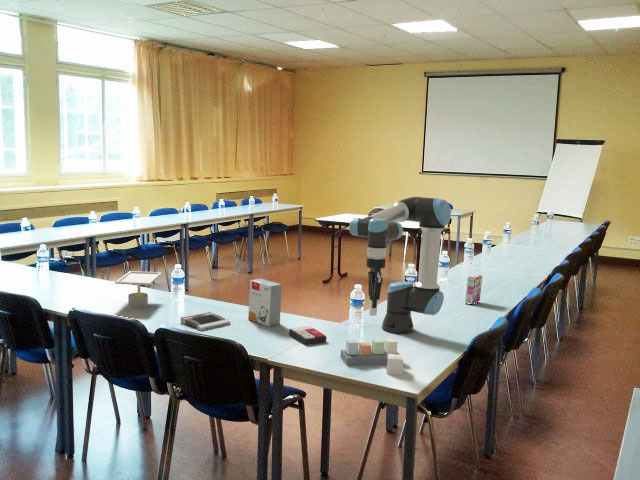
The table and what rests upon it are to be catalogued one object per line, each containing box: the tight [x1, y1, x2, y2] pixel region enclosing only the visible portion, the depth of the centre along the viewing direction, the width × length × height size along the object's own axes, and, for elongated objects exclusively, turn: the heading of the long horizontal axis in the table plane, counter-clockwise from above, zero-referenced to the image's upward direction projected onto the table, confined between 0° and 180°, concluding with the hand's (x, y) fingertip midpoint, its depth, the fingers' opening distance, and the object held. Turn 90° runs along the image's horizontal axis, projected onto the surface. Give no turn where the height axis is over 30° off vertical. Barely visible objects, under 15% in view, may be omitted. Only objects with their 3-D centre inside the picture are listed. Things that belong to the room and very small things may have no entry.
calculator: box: [288, 325, 327, 346], centre depth 270 cm, size 11×4×15 cm
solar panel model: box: [114, 270, 163, 309], centre depth 313 cm, size 28×17×15 cm, turn 2°
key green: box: [371, 338, 385, 354], centre depth 246 cm, size 4×4×5 cm
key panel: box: [340, 348, 401, 366], centre depth 246 cm, size 23×10×3 cm, turn 102°
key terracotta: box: [358, 342, 372, 355], centre depth 245 cm, size 4×4×5 cm
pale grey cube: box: [386, 354, 404, 376], centre depth 235 cm, size 6×6×6 cm
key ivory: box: [384, 338, 398, 354], centre depth 247 cm, size 4×4×5 cm
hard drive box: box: [247, 278, 283, 327], centre depth 293 cm, size 16×8×20 cm, turn 47°
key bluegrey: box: [345, 339, 359, 355], centre depth 244 cm, size 4×4×5 cm
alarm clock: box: [180, 311, 231, 332], centre depth 286 cm, size 17×5×16 cm
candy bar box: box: [465, 274, 483, 304], centre depth 353 cm, size 11×5×16 cm, turn 144°
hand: (372, 314), depth 244 cm, fingers closed
